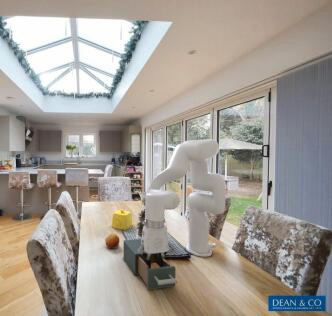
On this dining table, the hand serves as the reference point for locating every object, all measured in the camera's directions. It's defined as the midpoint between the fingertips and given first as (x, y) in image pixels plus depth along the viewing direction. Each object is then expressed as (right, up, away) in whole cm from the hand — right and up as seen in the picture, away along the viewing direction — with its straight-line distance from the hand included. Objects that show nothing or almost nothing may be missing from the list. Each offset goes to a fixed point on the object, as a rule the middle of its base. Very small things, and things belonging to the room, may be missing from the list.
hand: (154, 266), depth 84 cm
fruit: (-14, -5, +31) cm, 35 cm away
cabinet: (-2, -5, +12) cm, 13 cm away
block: (0, -4, 0) cm, 4 cm away
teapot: (-5, -5, +63) cm, 64 cm away
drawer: (0, -5, -2) cm, 5 cm away
